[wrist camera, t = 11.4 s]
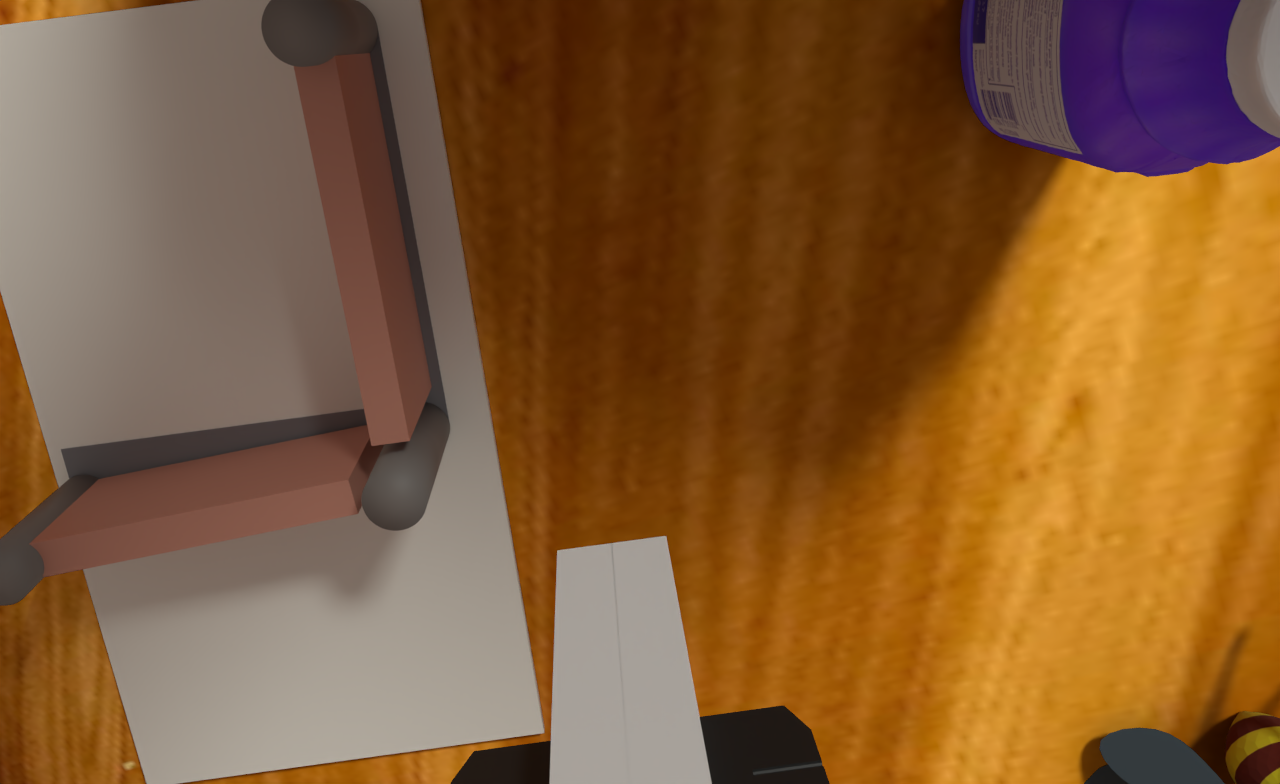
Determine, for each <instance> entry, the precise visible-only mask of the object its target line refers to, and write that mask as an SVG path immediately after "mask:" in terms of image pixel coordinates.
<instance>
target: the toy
mask: <svg viewBox="0 0 1280 784" xmlns="http://www.w3.org/2000/svg"><path fill="white" fill-rule="evenodd" d="M1100 751H1101V754H1102V756H1103V758H1104V760H1105V761H1106V762H1107V764H1108V765H1106V766H1104V767H1101V768H1099V769H1098V770H1096V772H1095V773H1094V774H1093V775H1092V776H1091V777H1090V778H1089V779H1088V780H1087V781H1086V782H1085V783H1084V784H1225V783H1224V782H1223V781H1222V780H1221V779H1220V778H1219V777H1218V775H1217V774H1216V773H1215V772H1214V771H1213V770H1212V769H1211V768H1210V767H1209V766H1208V765H1207V763H1206V762H1205V761H1204V760H1203V759H1202V758H1201V757H1200V756H1199V755H1198V754H1197V753H1196V752H1194V751H1193V750H1192V749H1191V748H1190V747H1188V746H1187V745H1186V744H1185V743H1184V742H1182V741H1181V740H1179V739H1177V738H1176V737H1174V736H1172V735H1170V734H1168V733H1165V732H1162V731H1159V730H1156V729H1147V728H1132V729H1122V730H1119V731H1116V732H1113V733H1110V734H1108V735H1107V736H1106V737H1104V738H1103V739H1102V740H1101V742H1100ZM1225 760H1226V764H1227V768H1228V771H1229V773H1230V775H1231V777H1232V779H1233V781H1234V782H1235V783H1236V784H1280V718H1277V717H1274V716H1271V715H1268V714H1264V713H1259V712H1247V711H1242V712H1239V713H1238V715H1237V716H1236V718H1235V719H1234V721H1233V723H1232V724H1231V727H1230V729H1229V731H1228V733H1227V738H1226V744H1225Z"/></svg>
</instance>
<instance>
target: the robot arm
mask: <svg viewBox="0 0 1280 784" xmlns="http://www.w3.org/2000/svg"><path fill="white" fill-rule="evenodd" d="M451 784H829V781H828V778H827V775H826V772H825V769H824V766H822V761H821V758H820V755H819V752H818V749H817V746H816V743H815V740H814V737H813V734H812V731H811V729H810V728H809V727H807V726H806V725H805V724H804V723H803V722H802V721H801V720H800V719H798V718H797V717H796V716H795V715H794V714H793V713H792V712H790V711H789V710H788V709H787V708H786V707H785V706H776V707H769V708H762V709H755V710H747V711H740V712H733V713H726V714H718V715H711V716H704V717H699V712H698V706H697V701H696V695H695V690H694V684H693V679H692V674H691V668H690V663H689V657H688V652H687V646H686V641H685V636H684V630H683V625H682V619H681V614H680V608H679V603H678V598H677V592H676V587H675V581H674V576H673V570H672V565H671V560H670V554H669V549H668V543H667V538H666V536H661V537H654V538H646V539H639V540H631V541H624V542H617V543H609V544H602V545H594V546H587V547H580V548H572V549H565V550H557V572H556V602H555V632H554V662H553V692H552V722H551V741H546V742H539V743H531V744H524V745H517V746H510V747H502V748H495V749H488V750H481V751H474V752H473V753H472V755H471V756H470V757H469V759H468V760H467V762H466V763H465V764H464V766H463V767H462V768H461V770H460V771H459V772H458V774H457V775H456V776H455V778H454V779H453V780H452V782H451Z"/></svg>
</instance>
